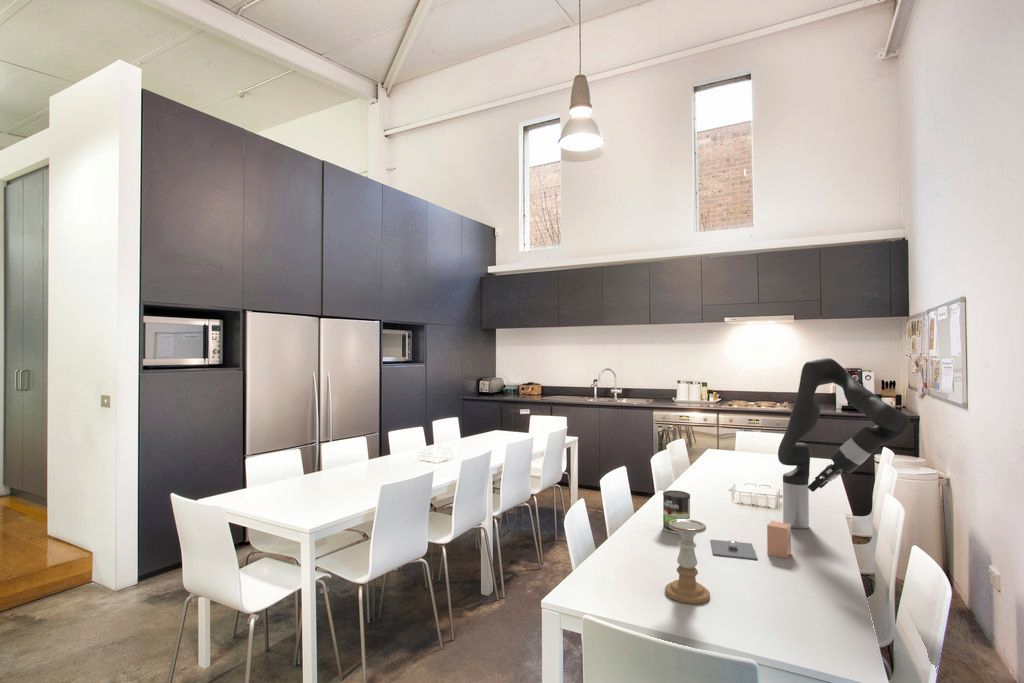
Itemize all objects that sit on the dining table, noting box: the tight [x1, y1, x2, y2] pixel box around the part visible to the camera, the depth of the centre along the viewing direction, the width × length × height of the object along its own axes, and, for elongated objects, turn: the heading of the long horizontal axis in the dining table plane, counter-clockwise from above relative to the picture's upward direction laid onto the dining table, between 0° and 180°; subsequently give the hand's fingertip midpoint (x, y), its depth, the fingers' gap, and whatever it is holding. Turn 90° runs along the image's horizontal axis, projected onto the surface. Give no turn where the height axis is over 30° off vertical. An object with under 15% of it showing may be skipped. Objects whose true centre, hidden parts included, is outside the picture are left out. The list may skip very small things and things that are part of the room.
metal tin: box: [727, 539, 738, 550], centre depth 190 cm, size 3×3×2 cm
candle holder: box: [664, 519, 711, 605], centre depth 155 cm, size 12×12×20 cm
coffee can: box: [662, 489, 691, 535], centre depth 212 cm, size 10×10×14 cm
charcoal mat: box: [710, 539, 759, 561], centre depth 190 cm, size 15×14×1 cm
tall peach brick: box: [766, 520, 792, 559], centre depth 187 cm, size 6×6×10 cm
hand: (814, 487), depth 181 cm, fingers open, 8 cm apart
